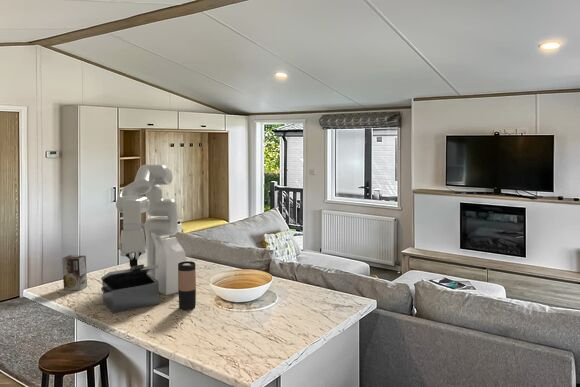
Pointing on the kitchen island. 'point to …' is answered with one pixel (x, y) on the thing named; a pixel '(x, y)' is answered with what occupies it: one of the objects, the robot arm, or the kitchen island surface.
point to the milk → (169, 265)
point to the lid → (130, 272)
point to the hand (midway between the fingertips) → (133, 267)
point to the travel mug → (187, 285)
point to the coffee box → (74, 272)
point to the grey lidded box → (130, 292)
